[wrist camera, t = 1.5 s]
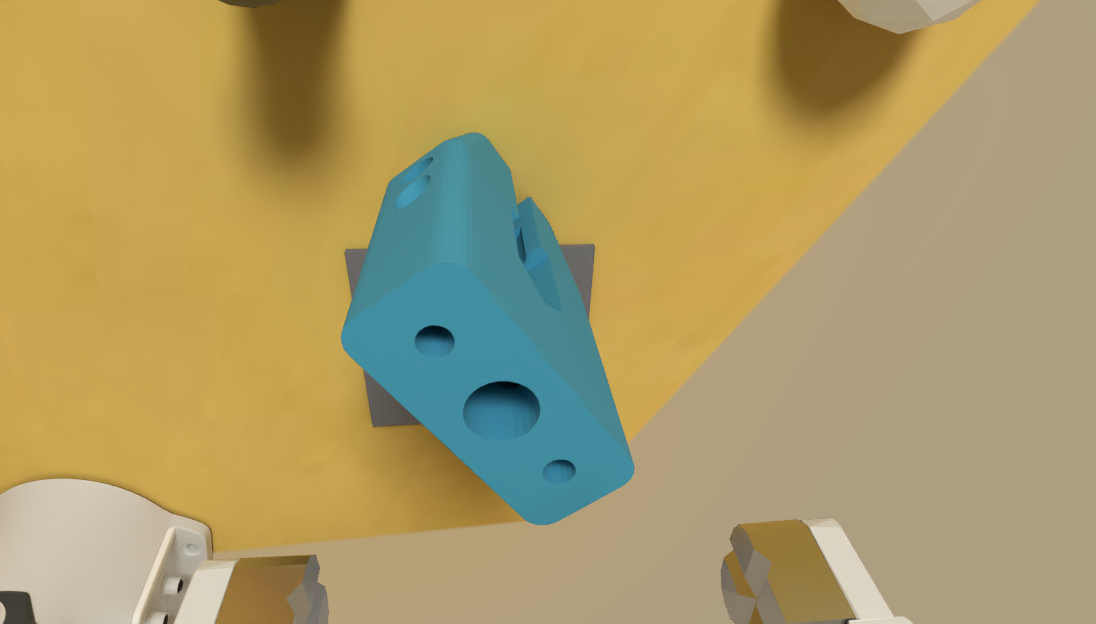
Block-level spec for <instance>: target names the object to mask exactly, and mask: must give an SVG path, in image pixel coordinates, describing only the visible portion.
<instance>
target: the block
mask: <svg viewBox="0 0 1096 624" xmlns="http://www.w3.org/2000/svg"><path fill="white" fill-rule="evenodd" d="M341 341H342V345H343V348H344V350H345V351H346V352H347V354H348V355H349V356H350V357H351V358H352V359H353V360H354V361H355V362H357V363H358V364H359V365H360V366H361V367H362V368H363V369H364V370H365V371H366V372H367V373H368V374H369V375H370V376H371V377H373V378H374V379H375V380H376V381H377V382H378V383H379V384H380V385H381V386H382V387H383V388H384V389H385V390H386V391H388V392H389V393H390V394H391V395H392V396H393V397H394V398H395V399H396V400H397V401H398V402H399V403H400V404H401V405H403V406H404V407H405V408H406V409H407V410H408V411H409V412H410V413H411V414H412V415H413V416H414V417H415V418H416V419H418V420H419V421H420V422H421V423H422V424H423V425H424V426H425V427H426V428H427V429H428V430H429V431H430V432H431V433H433V434H434V435H435V436H436V437H437V438H438V439H439V440H440V441H441V442H442V443H443V444H444V445H445V446H446V447H448V448H449V449H450V450H451V451H452V452H453V453H454V454H455V455H456V456H457V457H458V458H459V459H460V460H461V461H463V462H464V463H465V464H466V465H467V466H468V467H469V468H470V469H471V470H472V471H473V472H474V473H475V474H476V475H478V476H479V477H480V478H481V479H482V480H483V481H484V482H485V483H486V484H487V485H488V486H489V487H490V488H491V489H492V490H494V491H495V492H496V493H497V494H498V495H499V496H500V497H501V498H502V499H503V500H504V501H505V502H506V503H507V504H509V505H510V506H511V507H512V508H513V509H514V510H515V511H516V512H517V513H518V514H519V515H520V516H521V517H522V518H524V519H525V520H526V521H528V522H530V523H532V524H536V525H548V524H552V523H555V522H557V521H559V520H561V519H563V518H565V517H567V516H569V515H570V514H572V513H574V512H576V511H578V510H580V509H581V508H583V507H585V506H587V505H589V504H590V503H592V502H594V501H596V500H598V499H600V498H601V497H603V496H605V495H607V494H609V493H611V492H612V491H614V490H616V489H618V488H620V487H621V486H623V485H625V484H626V483H627V482H628V481H629V480H630V479H631V477H632V475H633V474H634V464H633V461H632V457H631V454H630V451H629V448H628V445H627V441H626V438H625V435H624V432H623V429H622V425H621V422H620V419H619V416H618V413H617V409H616V406H615V403H614V400H613V397H612V393H611V390H610V387H609V384H608V381H607V377H606V374H605V371H604V368H603V365H602V361H601V358H600V355H599V352H598V349H597V345H596V342H595V339H594V336H593V333H592V329H591V326H590V323H589V320H588V317H587V313H586V310H585V307H584V304H583V301H582V297H581V294H580V292H579V290H578V288H577V285H576V283H575V281H574V278H573V276H572V274H571V271H570V269H569V267H568V265H567V262H566V260H565V258H564V255H563V253H562V251H561V249H560V246H559V244H558V242H557V239H556V237H555V235H554V232H553V230H552V228H551V226H550V224H549V222H548V221H547V219H546V218H545V217H544V215H543V214H542V212H541V211H540V210H539V208H538V207H537V206H536V204H535V203H534V201H533V200H532V199H531V197H528V198H527V199H525V200H524V201H522V202H521V203H519V204H518V205H517V203H516V198H515V192H514V187H513V181H512V176H511V171H510V169H509V167H508V166H507V165H506V163H505V162H504V160H503V159H502V158H501V156H500V155H499V154H498V152H497V151H496V150H495V148H494V147H493V145H492V144H491V143H490V141H489V140H488V139H487V138H486V137H485V136H483V135H482V134H479V133H469V134H465V135H462V136H459V137H456V138H453V139H449V140H446V141H444V142H443V143H441V144H440V145H438V146H437V147H435V148H434V149H433V150H431V151H430V152H429V153H427V154H426V155H424V156H423V157H422V158H420V159H419V160H418V161H416V162H415V163H413V164H412V165H411V166H409V167H408V168H407V169H405V170H404V171H402V172H401V173H400V174H398V175H397V176H395V177H394V178H393V179H392V180H391V181H390V182H389V184H388V186H387V189H386V193H385V196H384V199H383V202H382V205H381V209H380V212H379V215H378V218H377V221H376V225H375V228H374V231H373V234H372V237H371V240H370V244H369V247H368V250H367V253H366V256H365V260H364V263H363V266H362V269H361V272H360V276H359V279H358V282H357V285H356V288H355V292H354V295H353V298H352V301H351V304H350V307H349V311H348V314H347V317H346V320H345V323H344V327H343V330H342V334H341Z"/></svg>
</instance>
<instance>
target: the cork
mask: <svg viewBox="0 0 1096 624" xmlns="http://www.w3.org/2000/svg"><path fill="white" fill-rule="evenodd" d="M219 1H221V2H224V3H226V4H229V5H234V6H242V7H250V8H256V7H260V6H265V5H270V4H274V3H276V2H277V1H279V0H219Z"/></svg>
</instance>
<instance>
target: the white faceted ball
mask: <svg viewBox="0 0 1096 624" xmlns="http://www.w3.org/2000/svg"><path fill="white" fill-rule="evenodd" d="M838 1H839V2H840V3H841V4H842V5H843V7H844V8H845V9H846V10H847V11H848V12H849V13H850V14H851V15H852V16H853V17H854V18H855V19H858V20H861V21H864V22H866V23H869V24H872V25H875V26H877V27H880V28H883V29H886V30H888V31H891V32H894V33H897V34H902V33H906V32H909V31H913V30H917V29H921V28H925V27H928V26H932V25H936V24H940V23H944V22H947V21H951V20H955V19H956V18H958V17H959V16H960V15H962V14H963V13H964V12H966V11H967V10H968V9H970V8H971V7H972V6H974V5H975V4H976V3H978V2H979V1H980V0H838Z"/></svg>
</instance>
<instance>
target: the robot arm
mask: <svg viewBox="0 0 1096 624" xmlns="http://www.w3.org/2000/svg"><path fill="white" fill-rule="evenodd" d="M730 541H731V544H732V546H733V548H734V550H733V551H731V552H730V553H729V554H728V555H726V556H725V557H724V560H723V564H722V568H721V587H722V593H723V597H724V602H725V605H726V608H727V611H728V614H729V617H730V619H731V620H732V621H733V622H734V623H736V624H913V623H912V622H911V621H909V620H908V619H907V618H905V617H904V616H893V615H892V613H891V611H890V609H889V608H888V606H887V604H886V603H885V601H884V599H883V598H882V596H881V594H880V592H879V591H878V589H877V588H876V586H875V584H874V582H873V581H872V579H871V577H870V576H869V574H868V572H867V570H866V569H865V567H864V566H863V564H862V562H861V560H860V559H859V557H858V555H857V554H856V552H855V550H854V549H853V547H852V545H851V543H850V542H849V540H848V538H847V537H846V535H845V533H844V532H843V530H842V528H841V527H840V525H839V524H838V523H837V522H836V521H835V520H833V519H832V518H820V519H809V520H799V521H798V520H784V521H773V522H761V523H749V524H739V525H737V526H736V527H735V528H734V529H733V531H732V534H731V537H730ZM319 570H320V567H319V564H318V561H317V558H316V555H294V556H275V557H256V558H233V559H218V560H213V553H212V541H211V531H210V529H209V528H208V527H207V526H206V525H205V524H203V523H201V522H198V521H195V520H192V519H189V518H186V517H182V516H178V515H175V514H172V513H170V512H168V511H166V510H164V509H162V508H161V507H159V506H157V505H156V504H154V503H152V502H151V501H149V500H147V499H145V498H143V497H141V496H139V495H137V494H135V493H132V492H130V491H127V490H125V489H122V488H119V487H115V486H112V485H108V484H104V483H99V482H94V481H87V480H78V479H47V480H39V481H34V482H29V483H25V484H22V485H19V486H16V487H13V488H11V489H9V490H7V491H6V492H4V493H2V494H1V495H0V624H328V613H329V610H328V598H327V593H326V589H325V586H323V585H322V584H320V583H318V582H317V580H318V575H319Z"/></svg>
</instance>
